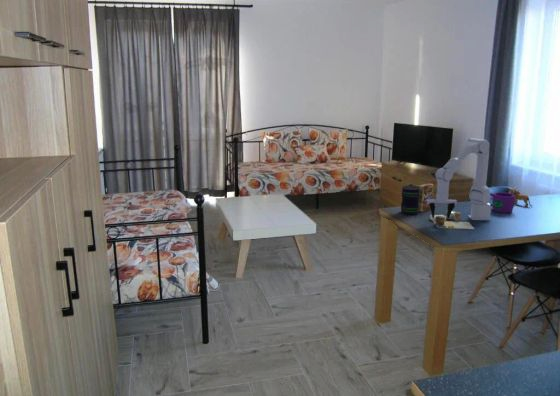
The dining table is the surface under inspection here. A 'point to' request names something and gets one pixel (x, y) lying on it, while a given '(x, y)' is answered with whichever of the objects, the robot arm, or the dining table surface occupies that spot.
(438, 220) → the walnut cylinder
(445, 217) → the soap bar
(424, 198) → the candy box
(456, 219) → the cork
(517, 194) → the lion figurine
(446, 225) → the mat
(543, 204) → the dining table surface
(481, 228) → the dining table surface
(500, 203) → the mug
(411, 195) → the storage jar
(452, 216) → the tin
